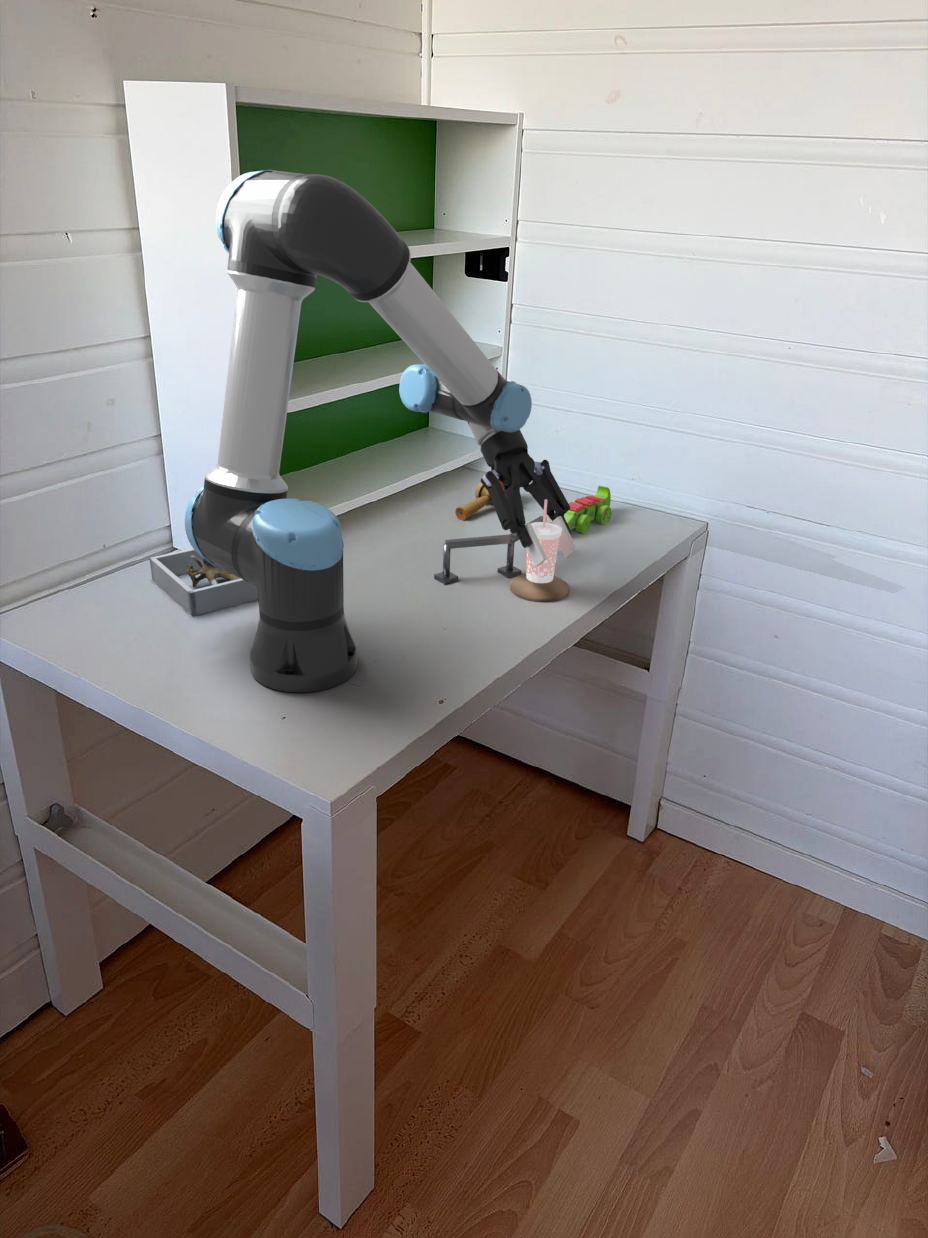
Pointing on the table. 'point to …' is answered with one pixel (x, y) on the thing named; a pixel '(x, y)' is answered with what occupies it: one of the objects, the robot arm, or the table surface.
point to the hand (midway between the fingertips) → (556, 558)
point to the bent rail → (509, 539)
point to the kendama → (474, 503)
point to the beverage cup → (549, 543)
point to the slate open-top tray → (203, 598)
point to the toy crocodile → (589, 510)
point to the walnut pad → (539, 589)
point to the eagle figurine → (208, 572)
